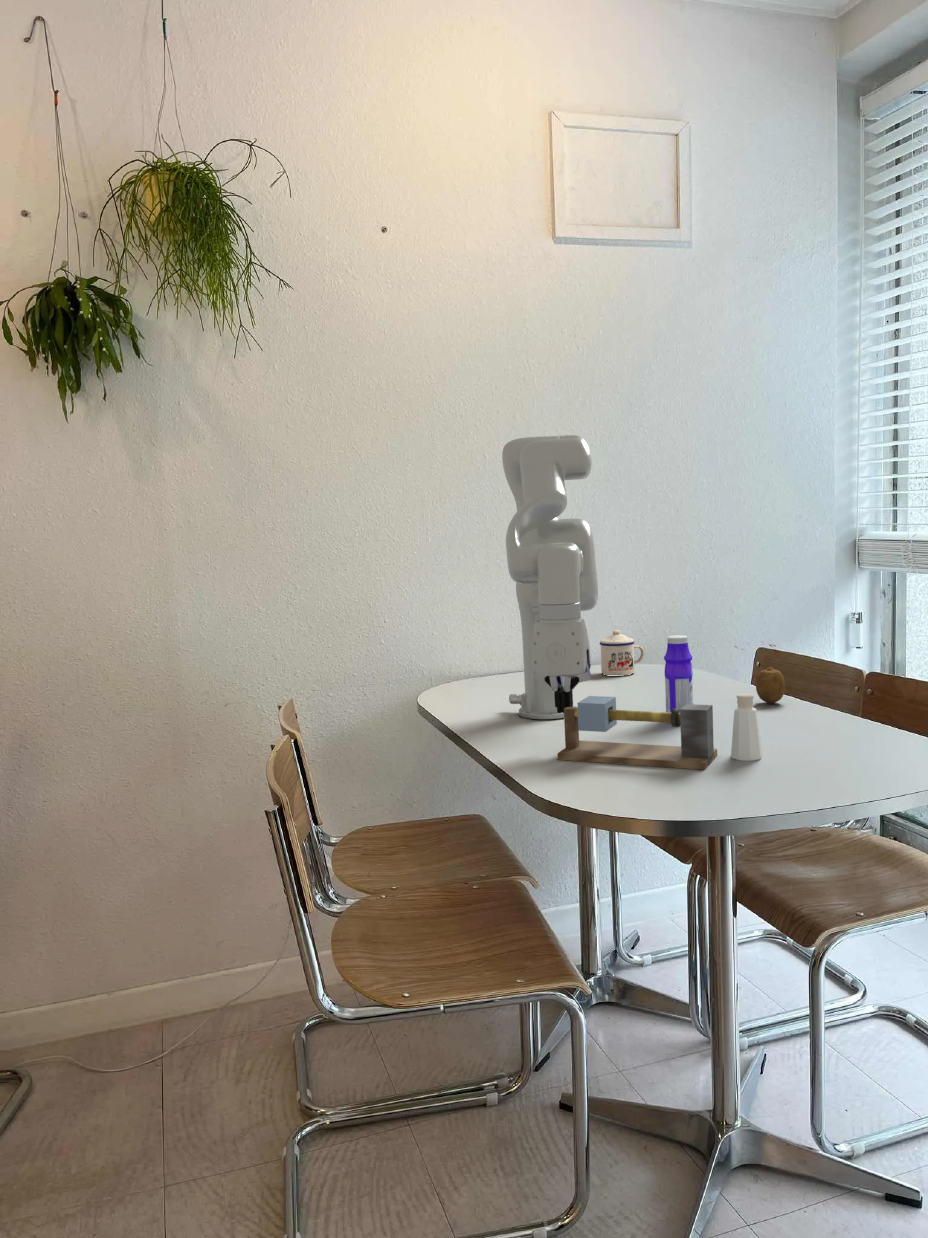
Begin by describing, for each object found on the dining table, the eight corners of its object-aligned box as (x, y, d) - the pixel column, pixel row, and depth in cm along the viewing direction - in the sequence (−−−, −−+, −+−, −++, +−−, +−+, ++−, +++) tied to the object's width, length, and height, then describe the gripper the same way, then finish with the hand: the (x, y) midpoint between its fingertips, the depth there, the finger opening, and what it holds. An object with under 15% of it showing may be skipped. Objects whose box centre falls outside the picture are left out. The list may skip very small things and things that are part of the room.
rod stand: (557, 759, 174) (555, 707, 172) (576, 746, 182) (574, 696, 181) (704, 770, 162) (703, 713, 161) (717, 755, 171) (715, 702, 170)
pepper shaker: (727, 754, 171) (725, 692, 170) (758, 752, 171) (756, 690, 170) (734, 762, 166) (732, 698, 165) (766, 760, 166) (765, 696, 165)
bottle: (694, 724, 196) (692, 638, 194) (665, 724, 197) (663, 638, 195) (693, 716, 203) (691, 633, 201) (665, 716, 204) (663, 634, 202)
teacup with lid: (607, 678, 253) (605, 633, 252) (596, 673, 262) (594, 630, 260) (651, 674, 255) (649, 630, 254) (638, 669, 264) (637, 626, 263)
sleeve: (578, 730, 173) (577, 702, 172) (590, 722, 179) (589, 695, 178) (605, 732, 171) (604, 703, 170) (616, 724, 176) (615, 696, 176)
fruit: (782, 700, 214) (781, 664, 213) (788, 706, 208) (788, 668, 207) (753, 701, 215) (752, 665, 214) (758, 706, 209) (758, 670, 208)
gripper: (514, 615, 178) (519, 714, 180) (592, 615, 171) (596, 717, 173) (530, 610, 185) (534, 706, 187) (605, 610, 178) (609, 709, 180)
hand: (564, 711), depth 180 cm, fingers closed
